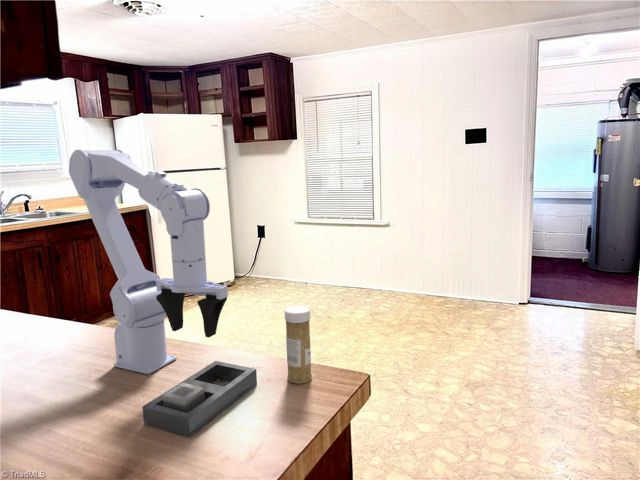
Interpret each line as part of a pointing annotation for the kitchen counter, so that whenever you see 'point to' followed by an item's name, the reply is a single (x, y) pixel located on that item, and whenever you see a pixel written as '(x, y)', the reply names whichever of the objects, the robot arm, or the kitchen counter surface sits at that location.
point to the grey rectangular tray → (214, 399)
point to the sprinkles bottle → (298, 344)
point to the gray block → (184, 397)
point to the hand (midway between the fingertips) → (193, 332)
